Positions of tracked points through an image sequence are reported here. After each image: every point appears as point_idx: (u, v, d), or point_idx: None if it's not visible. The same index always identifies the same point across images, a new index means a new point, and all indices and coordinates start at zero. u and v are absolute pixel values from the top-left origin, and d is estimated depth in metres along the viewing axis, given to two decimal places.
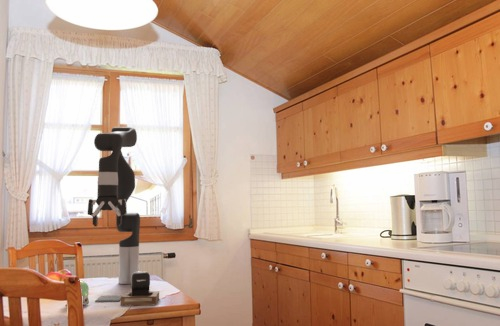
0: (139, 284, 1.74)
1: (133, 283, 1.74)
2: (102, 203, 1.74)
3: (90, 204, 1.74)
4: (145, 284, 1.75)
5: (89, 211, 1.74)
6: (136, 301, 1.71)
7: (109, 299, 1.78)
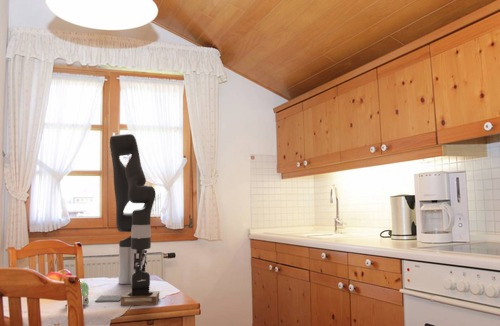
0: (139, 284, 1.74)
1: (133, 283, 1.74)
2: (145, 256, 1.76)
3: (141, 258, 1.71)
4: (145, 284, 1.75)
5: (140, 265, 1.70)
6: (136, 301, 1.71)
7: (109, 299, 1.78)
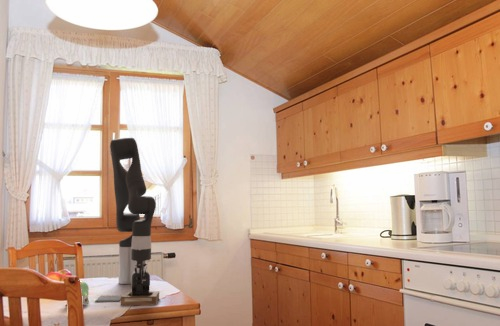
0: None
1: (133, 283, 1.74)
2: (145, 267, 1.75)
3: (141, 272, 1.71)
4: (145, 284, 1.75)
5: (141, 279, 1.72)
6: (136, 301, 1.71)
7: (109, 299, 1.78)
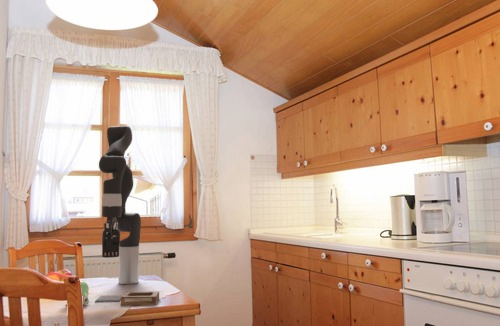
0: None
1: (103, 238, 1.80)
2: (115, 223, 1.82)
3: (111, 227, 1.78)
4: (115, 240, 1.81)
5: (111, 234, 1.78)
6: (136, 301, 1.71)
7: (109, 299, 1.78)
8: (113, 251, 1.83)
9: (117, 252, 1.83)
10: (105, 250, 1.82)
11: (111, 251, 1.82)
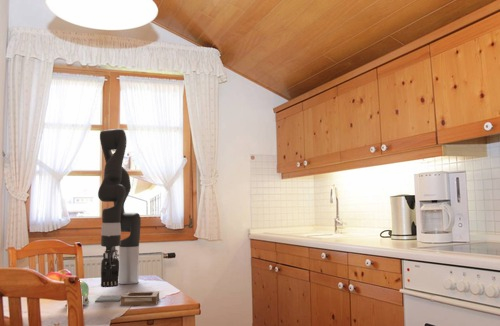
0: None
1: (102, 268, 1.79)
2: (114, 253, 1.81)
3: (110, 257, 1.77)
4: (114, 269, 1.80)
5: (110, 264, 1.77)
6: (136, 301, 1.71)
7: (109, 299, 1.78)
8: (112, 280, 1.82)
9: (116, 281, 1.82)
10: (104, 280, 1.81)
11: (110, 280, 1.81)
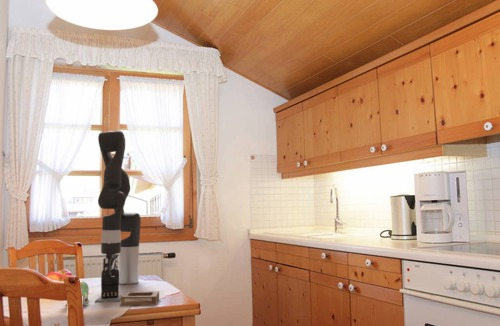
0: None
1: (102, 279, 1.79)
2: (114, 260, 1.81)
3: (110, 263, 1.76)
4: (114, 280, 1.80)
5: (109, 270, 1.75)
6: (136, 301, 1.71)
7: (109, 299, 1.78)
8: (112, 291, 1.81)
9: (116, 292, 1.82)
10: (104, 290, 1.81)
11: (110, 291, 1.81)
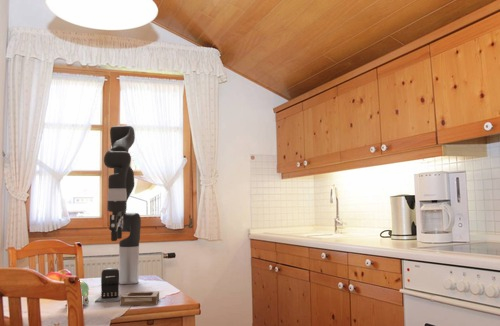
0: (108, 280, 1.79)
1: (102, 279, 1.79)
2: (120, 218, 1.84)
3: (116, 219, 1.79)
4: (114, 280, 1.80)
5: (116, 226, 1.79)
6: (136, 301, 1.71)
7: (109, 299, 1.78)
8: (112, 291, 1.81)
9: (116, 292, 1.82)
10: (104, 290, 1.81)
11: (110, 291, 1.81)
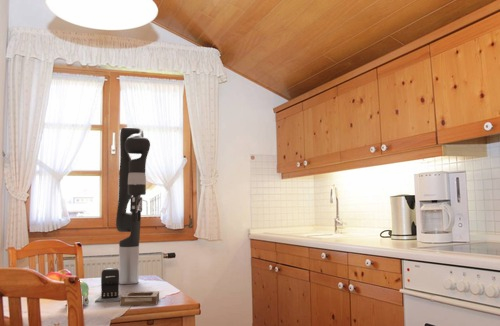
0: (108, 280, 1.79)
1: (102, 279, 1.79)
2: (140, 201, 1.93)
3: (136, 202, 1.88)
4: (114, 280, 1.80)
5: (136, 208, 1.88)
6: (136, 301, 1.71)
7: (109, 299, 1.78)
8: (112, 291, 1.81)
9: (116, 292, 1.82)
10: (104, 290, 1.81)
11: (110, 291, 1.81)
